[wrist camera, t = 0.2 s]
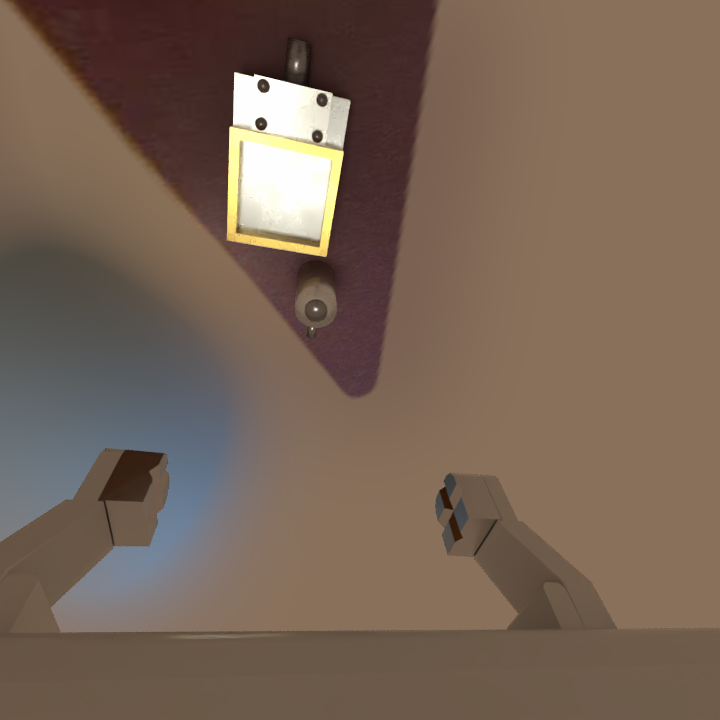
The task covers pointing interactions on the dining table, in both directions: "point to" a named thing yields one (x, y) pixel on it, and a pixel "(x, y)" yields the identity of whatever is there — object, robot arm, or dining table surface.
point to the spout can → (315, 296)
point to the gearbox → (284, 158)
